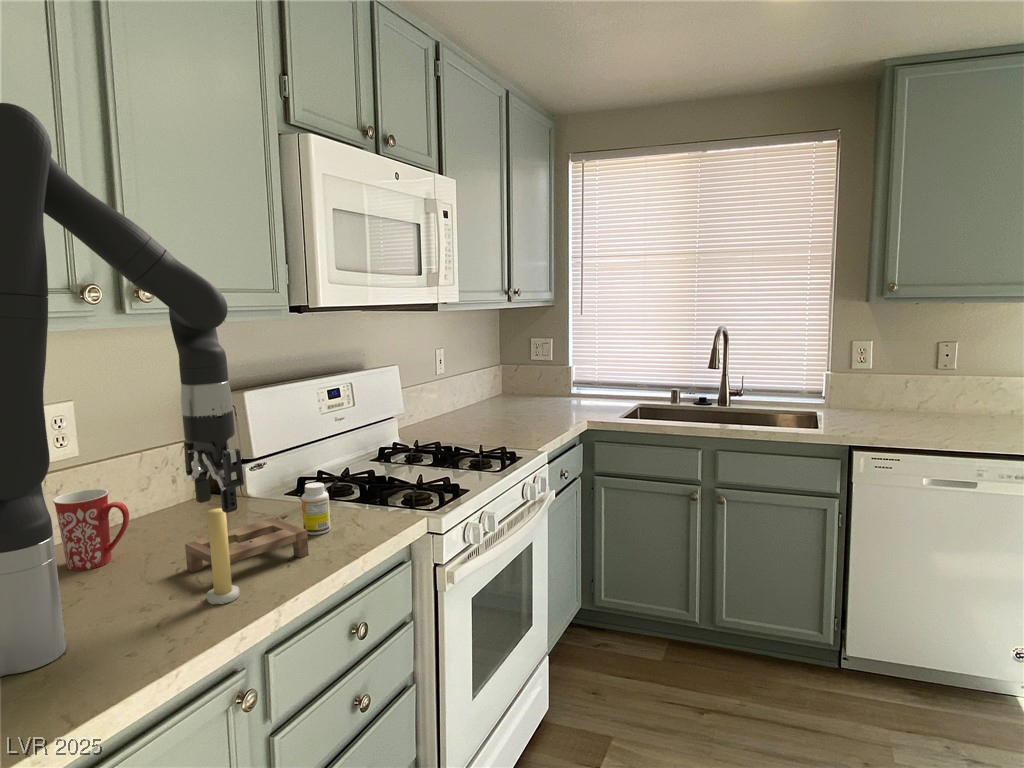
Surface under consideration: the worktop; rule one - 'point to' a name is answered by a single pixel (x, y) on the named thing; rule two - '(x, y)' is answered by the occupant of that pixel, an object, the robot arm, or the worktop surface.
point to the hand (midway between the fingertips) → (216, 506)
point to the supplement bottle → (316, 509)
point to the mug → (87, 527)
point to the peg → (220, 559)
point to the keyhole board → (251, 542)
